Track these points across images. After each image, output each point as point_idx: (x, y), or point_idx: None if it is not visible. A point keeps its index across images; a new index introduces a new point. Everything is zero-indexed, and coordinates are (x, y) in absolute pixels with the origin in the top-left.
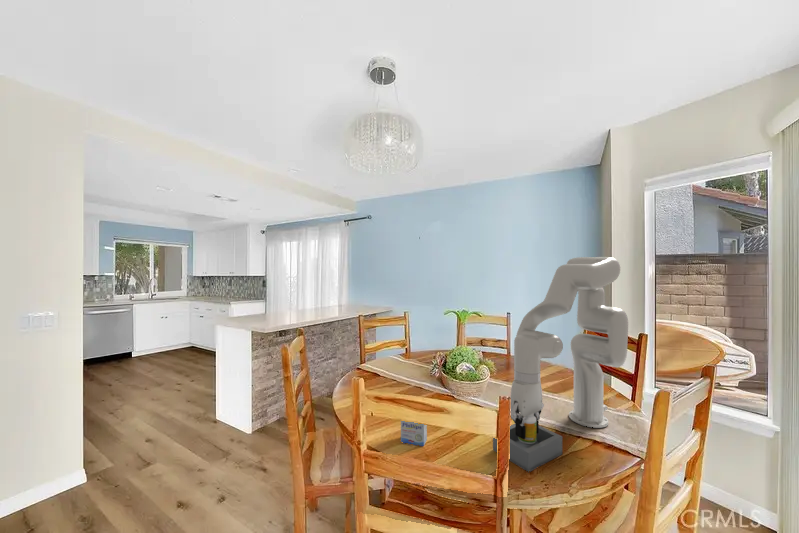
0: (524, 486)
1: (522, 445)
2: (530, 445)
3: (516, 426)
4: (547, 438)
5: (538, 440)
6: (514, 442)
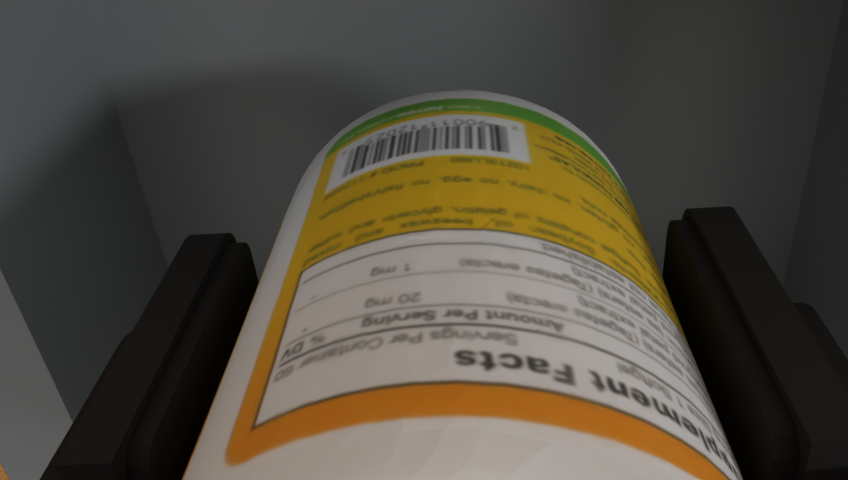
0: (3, 472)
1: (477, 56)
2: (594, 123)
3: (50, 475)
4: (842, 340)
5: (831, 117)
6: (12, 371)
